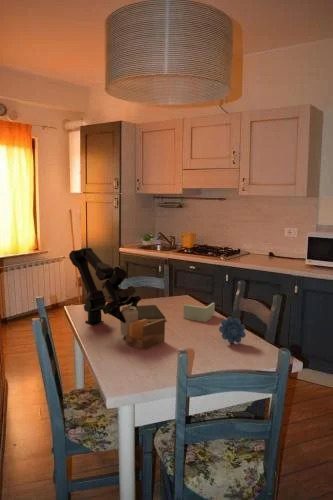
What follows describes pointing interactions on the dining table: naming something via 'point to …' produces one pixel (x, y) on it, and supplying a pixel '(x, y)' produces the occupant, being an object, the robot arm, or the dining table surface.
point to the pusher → (137, 329)
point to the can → (128, 319)
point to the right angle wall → (199, 312)
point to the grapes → (232, 330)
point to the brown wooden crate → (149, 335)
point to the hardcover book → (149, 313)
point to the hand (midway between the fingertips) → (131, 320)
